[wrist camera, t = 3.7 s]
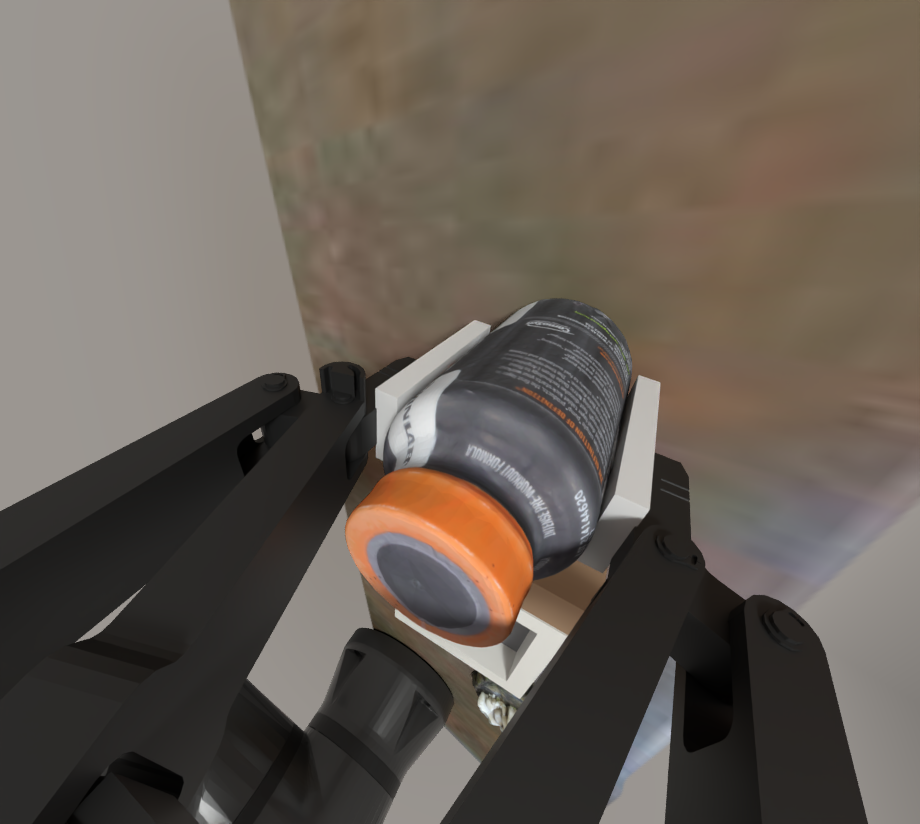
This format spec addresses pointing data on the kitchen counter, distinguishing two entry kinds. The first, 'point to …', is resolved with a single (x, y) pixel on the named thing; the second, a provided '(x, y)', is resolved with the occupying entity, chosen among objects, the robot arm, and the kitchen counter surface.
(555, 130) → the kitchen counter surface
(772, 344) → the kitchen counter surface
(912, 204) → the kitchen counter surface
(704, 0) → the kitchen counter surface
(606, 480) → the pill bottle
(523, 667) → the plate
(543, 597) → the door edge
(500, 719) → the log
